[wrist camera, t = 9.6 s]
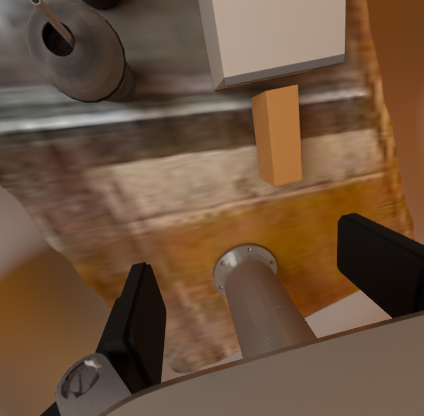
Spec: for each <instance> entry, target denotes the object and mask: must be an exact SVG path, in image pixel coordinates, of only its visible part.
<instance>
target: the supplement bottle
mask: <svg viewBox="0 0 424 416" xmlns="http://www.w3.org/2000/svg"><path fill="white" fill-rule="evenodd" d="M82 1H83V2H85V3H86V4H88V5H90V6H92V7H95V8H101V9H103V8H109V7H112V6H113V5H115V4H116V3H117V2H118V1H119V0H82Z"/></svg>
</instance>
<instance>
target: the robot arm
mask: <svg viewBox="0 0 424 416" xmlns="http://www.w3.org/2000/svg"><path fill="white" fill-rule="evenodd" d="M337 267H338V269H339V271H340V272H341V273H342V274H343V275H345V276H346V277H347V278H348V279H349V280H350V281H351V282H352V283H354V284H355V285H356V286H357V287H358V288H359V289H360V290H361V291H363V292H364V293H365V294H366V295H367V296H368V297H369V298H370V299H372V300H373V301H374V302H375V303H376V304H377V305H378V306H379V307H381V308H382V309H383V310H384V311H385V312H386V313H387V314H389V315H390V316H391V317H392V319H389V320H385V321H381V322H378V323H373V324H370V325H366V326H362V327H358V328H354V329H351V330H347V331H343V332H340V333H336V334H332V335H329V336H325V337H321V338H317V337H316V336H315V334H314V333H313V331H312V330H311V328H310V327H309V325H308V324H307V322H306V321H305V319H304V318H303V316H302V314H301V313H300V311H299V310H298V308H297V307H296V305H295V304H294V302H293V301H292V299H291V298H290V296H289V295H288V293H287V289H285V288H284V287H283V285H282V284H281V282H280V281H279V279H278V278H277V263H276V260H275V258H274V257H273V255H272V254H271V253H270V252H269V251H268V250H267V249H266V248H264V247H262V246H259V245H256V244H242V245H238V246H235V247H233V248H231V249H229V250H228V251H226V252H225V253H224V254H223V255H222V256H221V257H220V258H219V259H218V261H217V263H216V264H215V267H214V271H213V278H214V283H215V286H216V288H217V290H218V291H219V292H220V294H222V295H223V296H224V297H226V298H227V300H228V304H229V308H230V312H231V315H232V319H233V323H234V326H235V330H236V334H237V337H238V341H239V345H240V348H241V352H242V356H243V359H240V360H237V361H233V362H230V363H226V364H223V365H219V366H215V367H212V368H208V369H205V370H201V371H198V372H195V373H191V374H188V375H185V376H181V377H178V378H174V379H171V380H169V381H165V382H163V383H161V375H162V363H163V351H164V339H165V327H166V308H165V305H164V302H163V299H162V296H161V293H160V290H159V287H158V284H157V281H156V279H155V276H154V273H153V270H152V267H151V265H150V264H148V265H147V264H146V263H145V262H143V263H139V264H134V265H132V267H131V270H130V272H129V275H128V278H127V280H126V283H125V286H124V289H123V291H122V294H121V297H120V298H117V299H116V301H115V303H114V306H113V308H112V311H111V313H110V316H109V319H108V321H107V324H106V326H105V329H104V331H103V334H102V337H101V339H100V342H99V344H98V347H97V350H96V352H95V354H90V355H88V356H85V357H83V358H81V359H80V360H79V361H77V362H76V363H75V364H73V365H72V366H71V367H70V368H69V369H68V370H67V371H66V373H65V374H64V375H63V376H62V378H61V380H60V381H59V383H58V385H57V388H56V392H55V399H56V402H55V403H53V404H52V405H51V406H50V407H49V408H48V409H47V410H46V411H45V412H44V413H43V414H41V415H40V416H424V245H422V244H420V243H418V242H416V241H414V240H412V239H410V238H408V237H405V236H403V235H401V234H399V233H397V232H395V231H393V230H391V229H388V228H386V227H384V226H382V225H380V224H378V223H376V222H374V221H372V220H369V219H367V218H365V217H363V216H361V215H359V214H357V213H351V214H347V215H343V216H341V218H340V219H339V221H338V241H337Z"/></svg>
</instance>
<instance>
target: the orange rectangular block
mask: <svg viewBox="0 0 424 416" xmlns="http://www.w3.org/2000/svg"><path fill="white" fill-rule="evenodd" d="M251 104H252V112H253V121H254V129H255V137H256V146H257V154H258V163H259V171H260V178H261V179H263V180H265V181H266V182H268V183H270V184H271V185H273V186H280V185H284V184H288V183H293V182H297V181H301V180H302V163H301V143H300V122H299V102H298V85H293V86H288V87H283V88H278V89H273V90H268V91H265V92H263V93H261V94H259V95H256V96H254V97H252V98H251Z"/></svg>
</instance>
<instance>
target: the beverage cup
mask: <svg viewBox="0 0 424 416" xmlns="http://www.w3.org/2000/svg"><path fill="white" fill-rule="evenodd" d="M30 1H31V2H32V3H33V5H34V6H35V7H36V8H35V9H34V10H33V11H32V12H31V15H30V17H29V20H28V23H27V30H26V40H27V44H28V48H29V51H30V55H31V57H32V59H33V61H34V62H35V64H36V66H37V68H38V69H39V71H40V72H41V74H42V75H43V76H44V77H45V78H46V79H47V80H48V81H49V82H50V83H51V84H52V85H53V86H54V87H56V88H57V89H58V90H59V91H61V92H62V93H64V94H65V95H67V96H69V97H70V98H72V99H75V100H78V101H82V102H85V103H91V102H101V101H111V102H124V101H127V100H129V99H130V98H131V97H132V96H133V94H134V92H135V87H136V86H135V80H134V77H133V75H132V72H131V70H130V68H129V66H128V64H127V62H126V58H125V51H124V48H123V45H122V43H121V41H120V38H119V36H118V34H117V33H116V31H115V30H114V29H113V28H112V26H111V25H110V24H109V22H108V21H107V20H106V19H104V18H103V17H102V16H100V15H99V14H98V13H96V12H95V11H94V10H92V9H90V8H89V7H88V6H86V5H84V4H81V3H78V2H76V1H73V0H48V1H46V2H43V1H42V0H30Z"/></svg>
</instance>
